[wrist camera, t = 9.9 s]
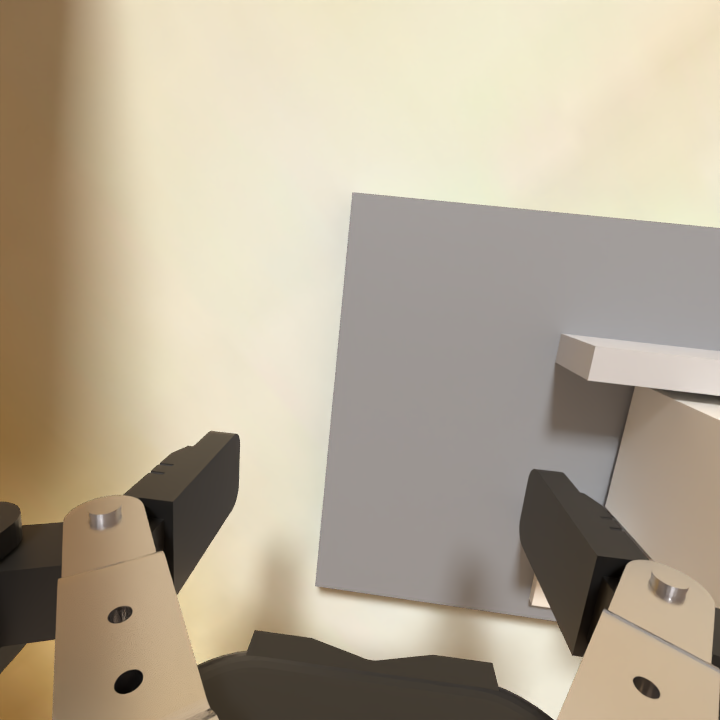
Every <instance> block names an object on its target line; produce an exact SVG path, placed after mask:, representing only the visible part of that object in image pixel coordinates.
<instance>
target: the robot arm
mask: <svg viewBox="0 0 720 720" xmlns="http://www.w3.org/2000/svg"><path fill="white" fill-rule="evenodd" d="M239 459H240V439H239V436H238V434H233V433H224V432H215V431H210V432H208V433H207V434H206V435H205V436H204V437H203V438H202V439H201V440H200V441H199V442H198V443H197V444H196V445H194V446H187V447H185V448H182V449H180V450H178V451H175V452H173V453H171V454H170V455H169V456H168V457H166V458H165V459H164V460H163V461H162V462H161V463H160V465H157V466H156V467H155V468H154V469H153V470H151V473H148V474H147V475H146V476H144V477H143V478H142V479H141V480H140V481H139V482H138V483H136V484H135V485H134V486H133V487H132V488H131V489H129V490H128V491H127V492H126V493H125V494H124V495H112V496H105V497H100V498H96V499H93V500H90V501H87V502H85V503H82V504H80V505H78V506H77V507H75V508H74V509H72V510H71V511H70V512H69V513H68V514H67V515H66V516H65V518H64V521H63V522H61V523H49V524H36V525H22V522H21V512H20V508H19V507H18V506H17V505H15V504H12V503H9V502H0V673H1V672H2V671H3V670H4V669H5V668H6V667H7V665H8V664H9V663H10V662H11V661H12V660H13V659H14V657H15V656H16V655H17V654H18V653H19V652H20V651H21V650H22V648H23V647H24V646H25V645H26V643H33V642H40V641H47V640H54V639H55V662H54V687H53V713H52V720H553V719H552V718H551V717H550V716H548V715H547V714H546V713H544V712H543V711H542V710H540V709H539V708H538V707H536V706H535V705H533V704H531V703H530V702H528V701H527V700H525V699H523V698H522V697H520V696H518V695H516V694H514V693H512V692H510V691H508V690H506V689H503V688H501V687H498V684H497V680H496V676H495V672H494V668H493V664H492V663H488V662H480V661H473V660H466V659H459V658H452V657H444V656H437V655H427V656H417V657H408V658H398V659H388V660H379V661H372V660H367V659H364V658H361V657H359V656H356V655H354V654H351V653H349V652H346V651H344V650H341V649H338V648H336V647H333V646H331V645H328V644H326V643H323V642H320V641H318V640H315V639H313V638H307V637H299V636H292V635H285V634H278V633H270V632H263V631H256V630H255V631H254V634H253V637H252V639H251V642H250V645H249V647H248V650H247V651H243V652H236V653H232V654H227V655H223V656H220V657H217V658H214V659H211V660H208V661H206V662H204V663H201V664H199V665H197V664H196V660H195V657H194V653H193V650H192V647H191V643H190V640H189V636H188V633H187V629H186V626H185V622H184V619H183V616H182V612H181V609H180V605H179V602H178V598H177V594H178V593H179V591H180V590H181V588H182V587H183V585H184V583H185V582H186V580H187V579H188V577H189V576H190V574H191V573H192V571H193V570H194V568H195V566H196V565H197V563H198V562H199V560H200V559H201V557H202V556H203V554H204V553H205V551H206V549H207V548H208V546H209V545H210V543H211V542H212V540H213V539H214V537H215V535H216V534H217V532H218V531H219V529H220V528H221V526H222V525H223V523H224V522H225V520H226V518H227V517H228V515H229V514H230V512H231V511H232V509H233V507H234V505H235V502H236V499H237V494H238V488H239ZM519 535H520V541H521V545H522V547H523V550H524V552H525V554H526V556H527V558H528V560H529V563H530V565H531V567H532V569H533V571H534V573H535V576H536V578H537V580H538V582H539V584H540V586H541V589H542V591H543V593H544V595H545V597H546V599H547V602H548V604H549V606H550V608H551V610H552V612H553V614H554V617H555V619H556V621H557V623H558V625H559V627H560V630H561V632H562V634H563V636H564V638H565V640H566V643H567V645H568V647H569V649H570V651H571V653H572V655H574V656H581V657H583V659H582V661H581V664H580V666H579V668H578V671H577V673H576V675H575V678H574V680H573V682H572V685H571V687H570V690H569V692H568V694H567V697H566V699H565V701H564V704H563V706H562V708H561V711H560V713H559V715H558V718H557V720H720V609H719V608H716V607H715V602H714V600H713V598H712V596H711V595H710V594H709V592H708V591H707V590H706V589H705V588H704V587H703V586H701V585H700V584H699V583H698V582H696V581H695V580H694V579H692V578H691V577H689V576H688V575H686V574H684V573H682V572H680V571H678V570H676V569H674V568H672V567H669V566H667V565H664V564H661V563H658V562H654V561H650V560H649V559H648V558H647V557H646V556H645V554H644V553H643V552H642V551H641V550H640V549H639V547H638V546H637V545H636V544H635V543H634V542H633V541H632V539H631V538H630V537H629V536H628V535H627V534H626V533H625V532H624V531H622V528H621V527H620V526H619V525H618V523H617V522H616V521H615V520H613V518H612V516H611V515H610V514H609V513H608V512H607V511H606V510H605V508H604V507H603V506H602V505H601V504H599V503H598V502H596V501H595V500H593V499H592V498H590V497H589V496H587V495H586V494H585V493H580V492H579V490H578V489H577V488H576V487H575V486H574V484H573V483H572V482H571V481H570V480H569V478H568V477H567V476H566V475H565V474H564V473H563V472H557V471H548V470H540V469H533V470H531V472H530V474H529V477H528V482H527V487H526V492H525V497H524V502H523V507H522V512H521V517H520V523H519Z"/></svg>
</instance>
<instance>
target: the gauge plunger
mask: <svg viewBox="0 0 720 720" xmlns="http://www.w3.org/2000/svg"><path fill="white" fill-rule="evenodd" d="M605 507H606V508H607V509H608V511H609V512H610V513H611V514H612V515H613V516H614V517H615V518H616V519H617V521H618V522H619V523H620V524H621V525H622V526H623V527H624V528H625V529H626V531H627V532H628V533H629V534H630V535H631V536H632V537H633V538H634V539H635V541H636V542H637V543H638V544H639V545H640V546H641V547H642V548H643V549H644V550H645V552H646V553H647V554H648V555H649V556H650V557H651V558H652V559H653V560H654V562H658V563H661V564H664V565H667V566H669V567H672V568H674V569H676V570H678V571H680V572H682V573H684V574H686V575H688V576H689V577H691V578H692V579H694V580H695V581H696V582H698V583H699V584H700V585H701V586H703V587H704V588H705V589H706V590H707V591H708V592H709V594H710V595H711V596H712V598H713V600H714V602H715V607H716V608H719V609H720V396H717V395H708V394H699V393H691V392H682V391H674V390H665V389H657V388H648V387H640V386H635V388H634V392H633V396H632V400H631V404H630V408H629V412H628V416H627V420H626V424H625V428H624V433H623V437H622V441H621V445H620V449H619V453H618V457H617V461H616V465H615V469H614V473H613V477H612V481H611V485H610V489H609V493H608V497H607V501H606V505H605Z"/></svg>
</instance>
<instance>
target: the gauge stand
mask: <svg viewBox="0 0 720 720" xmlns="http://www.w3.org/2000/svg"><path fill="white" fill-rule="evenodd" d="M635 386H640V387H648V388H657V389H665V390H674V391H682V392H691V393H699V394H708V395H717V396H720V228H713V227H702V226H692V225H682V224H672V223H661V222H651V221H641V220H631V219H620V218H610V217H600V216H590V215H579V214H569V213H559V212H548V211H538V210H528V209H518V208H507V207H497V206H487V205H477V204H466V203H456V202H446V201H435V200H425V199H415V198H405V197H394V196H384V195H374V194H364V193H352V204H351V214H350V225H349V235H348V246H347V256H346V267H345V278H344V288H343V299H342V309H341V320H340V330H339V341H338V351H337V362H336V372H335V383H334V394H333V404H332V415H331V425H330V436H329V446H328V457H327V467H326V478H325V489H324V499H323V510H322V520H321V531H320V541H319V552H318V562H317V573H316V583H315V586H318V587H325V588H332V589H339V590H346V591H352V592H359V593H366V594H373V595H380V596H387V597H393V598H400V599H407V600H414V601H421V602H428V603H434V604H441V605H448V606H455V607H462V608H468V609H475V610H482V611H489V612H496V613H503V614H509V615H516V616H523V617H530V618H537V619H544V620H550V621H556V619H555V617H554V614H553V612H552V610H551V608H550V606H549V604H548V602H547V599H546V597H545V595H544V593H543V591H542V589H541V586H540V584H539V582H538V580H537V578H536V576H535V573H534V571H533V569H532V567H531V565H530V563H529V560H528V558H527V556H526V554H525V552H524V550H523V547H522V545H521V541H520V535H519V523H520V517H521V512H522V507H523V502H524V497H525V492H526V487H527V482H528V477H529V474H530V472H531V470H533V469H540V470H548V471H557V472H563V473H564V474H565V475H566V476H567V477H568V478H569V480H570V481H571V482H572V483H573V484H574V486H575V487H576V488H577V489H578V490H579V492H580V493H585V494H586V495H587V496H589V497H590V498H592V499H593V500H595V501H596V502H598V503H599V504H601V505H602V506H603V507H604V508H605V510H606V511H607V512H608V513H609V514H610V515H611V516H612V518H613V520H615V521H616V522H617V523H618V525H619V526H620V527H621V528H622V531H624V532H625V533H626V534H627V535H628V536H629V537H630V538H631V539H632V541H633V542H634V543H635V544H636V545H637V546H638V547H639V549H640V550H641V551H642V552H643V553H644V554H645V556H646V557H647V558H648V559H649V560H650V561H654V560H653V559H652V558H651V557H650V556H649V555H648V554H647V553H646V552H645V550H644V549H643V548H642V547H641V546H640V545H639V544H638V543H637V542H636V541H635V539H634V538H633V537H632V536H631V535H630V534H629V533H628V532H627V531H626V529H625V528H624V527H623V526H622V525H621V524H620V523H619V522H618V521H617V519H616V518H615V517H614V516H613V515H612V514H611V513H610V512H609V511H608V509H607V508H606V507H605V505H606V501H607V497H608V493H609V489H610V485H611V481H612V477H613V473H614V469H615V465H616V461H617V457H618V453H619V449H620V445H621V441H622V437H623V433H624V428H625V424H626V420H627V416H628V412H629V408H630V404H631V400H632V396H633V392H634V388H635Z"/></svg>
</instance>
